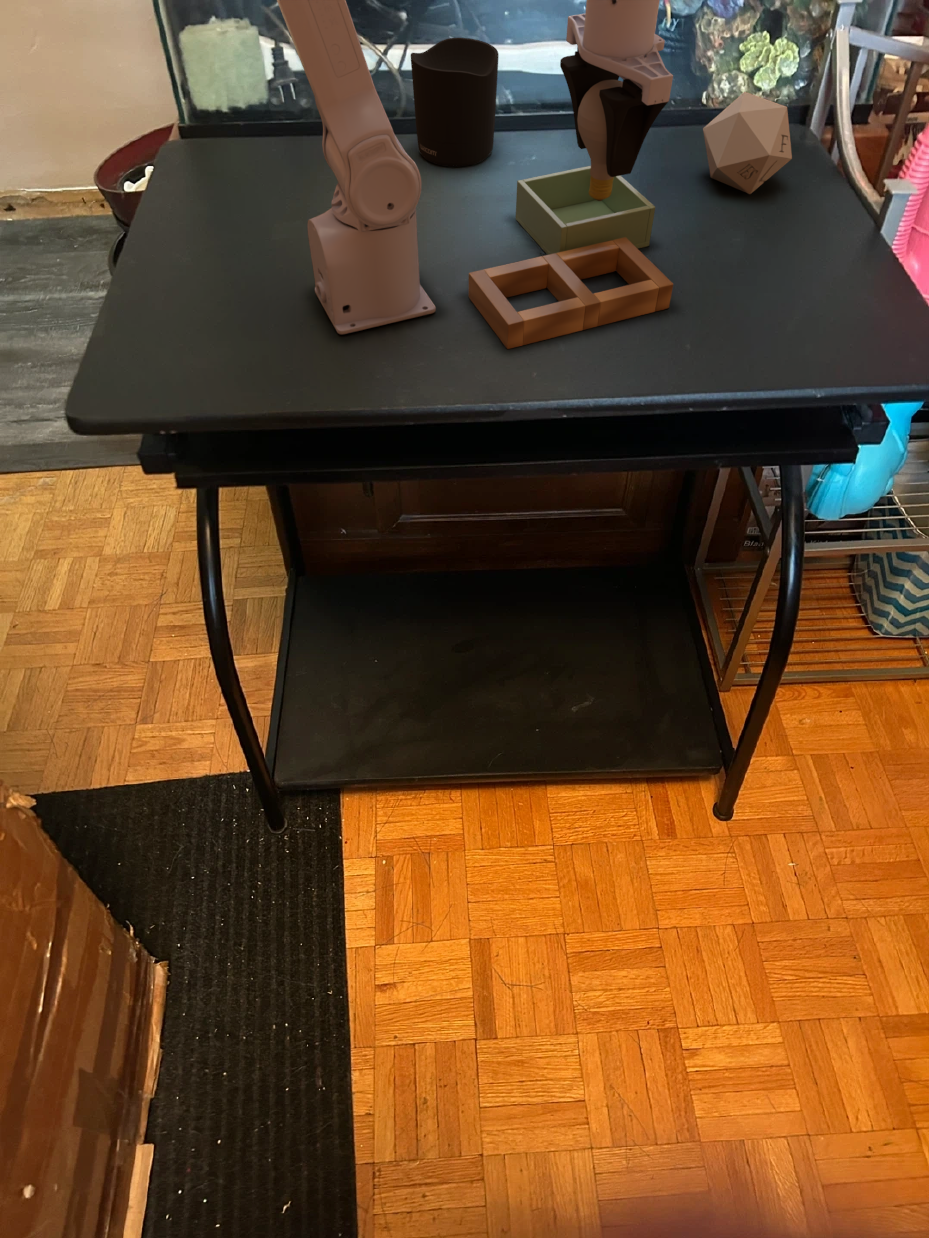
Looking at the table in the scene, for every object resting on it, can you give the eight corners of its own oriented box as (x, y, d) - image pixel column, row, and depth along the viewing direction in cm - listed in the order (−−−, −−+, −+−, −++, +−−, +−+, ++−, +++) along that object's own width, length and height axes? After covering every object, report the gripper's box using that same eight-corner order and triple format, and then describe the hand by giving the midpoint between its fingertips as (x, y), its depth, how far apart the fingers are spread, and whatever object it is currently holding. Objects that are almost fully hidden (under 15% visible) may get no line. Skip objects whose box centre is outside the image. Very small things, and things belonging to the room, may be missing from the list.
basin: (558, 267, 86) (561, 228, 83) (515, 219, 92) (516, 180, 89) (649, 246, 89) (655, 207, 86) (601, 200, 95) (606, 162, 91)
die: (710, 211, 94) (789, 140, 87) (671, 140, 95) (746, 64, 88) (747, 213, 100) (825, 147, 93) (710, 146, 101) (784, 75, 93)
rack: (507, 349, 78) (508, 324, 76) (468, 297, 83) (468, 272, 81) (669, 308, 82) (673, 284, 80) (622, 261, 87) (625, 236, 85)
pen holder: (412, 135, 104) (407, 39, 97) (490, 131, 105) (492, 35, 97) (418, 172, 99) (414, 74, 91) (501, 167, 99) (504, 69, 91)
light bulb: (641, 203, 81) (659, 85, 74) (595, 220, 80) (608, 100, 72) (603, 180, 84) (617, 63, 76) (558, 195, 82) (567, 78, 75)
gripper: (720, 3, 65) (684, 187, 76) (626, -54, 73) (606, 119, 84) (635, 16, 63) (611, 203, 74) (549, -43, 72) (539, 132, 82)
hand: (604, 160), depth 79 cm, fingers closed on light bulb, 5 cm apart
